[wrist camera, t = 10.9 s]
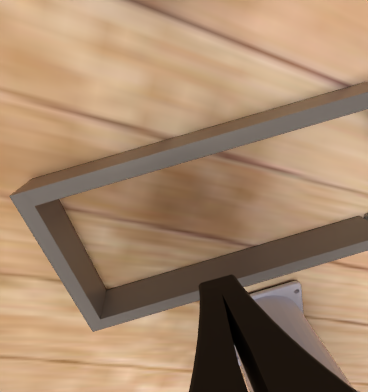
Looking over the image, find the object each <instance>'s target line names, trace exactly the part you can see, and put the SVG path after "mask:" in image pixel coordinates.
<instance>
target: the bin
mask: <svg viewBox="0 0 368 392" xmlns="http://www.w3.org/2000/svg"><path fill="white" fill-rule="evenodd" d="M366 109H368V82H364V83H361V84H357V85H354V86H350V87H347V88H343V89H340V90H336V91H333V92H330V93H326V94H323V95H319V96H316V97H312V98H309V99H305V100H302V101H299V102H295V103H292V104H288V105H285V106H281V107H278V108H275V109H271V110H268V111H264V112H261V113H257V114H254V115H250V116H247V117H244V118H240V119H237V120H233V121H230V122H226V123H223V124H219V125H216V126H213V127H209V128H206V129H202V130H199V131H195V132H192V133H188V134H185V135H182V136H178V137H175V138H171V139H168V140H164V141H161V142H157V143H154V144H151V145H147V146H144V147H140V148H137V149H133V150H130V151H126V152H123V153H120V154H116V155H113V156H109V157H106V158H102V159H99V160H95V161H92V162H89V163H85V164H82V165H78V166H75V167H71V168H68V169H64V170H61V171H58V172H54V173H51V174H47V175H44V176H40V177H37V178H33V179H31V180H30V181H28V182H27V183H26V184H24V185H23V186H22V187H21V188H19V189H18V190H17V191H15V192H14V193H13V194H11V195H10V198H11V200H12V201H13V203H14V205H15V206H16V208H17V209H18V211H19V213H20V214H21V216H22V218H23V219H24V221H25V223H26V224H27V226H28V227H29V229H30V231H31V232H32V234H33V236H34V237H35V239H36V240H37V242H38V244H39V245H40V247H41V249H42V250H43V252H44V253H45V255H46V257H47V258H48V260H49V262H50V263H51V265H52V266H53V268H54V270H55V271H56V273H57V275H58V276H59V278H60V279H61V281H62V283H63V284H64V286H65V288H66V289H67V291H68V292H69V294H70V296H71V297H72V299H73V301H74V302H75V304H76V305H77V307H78V309H79V310H80V312H81V314H82V315H83V317H84V318H85V320H86V322H87V323H88V325H89V327H90V328H91V330H92V331H93V332H94V331H97V330H101V329H104V328H107V327H111V326H114V325H118V324H121V323H124V322H128V321H131V320H134V319H138V318H141V317H145V316H148V315H151V314H155V313H158V312H162V311H165V310H168V309H172V308H175V307H178V306H182V305H185V304H189V303H192V302H195V301H199V300H200V295H199V287H198V286H199V284H200V283H202V282H206V281H209V280H213V279H216V278H220V277H223V276H227V275H231V274H232V275H234V276H235V277H236V278H237V280H238V281H239V282H240V284H241V285H242V286H243V287H246V286H249V285H253V284H256V283H260V282H263V281H266V280H270V279H273V278H276V277H280V276H283V275H287V274H290V273H293V272H297V271H300V270H303V269H307V268H310V267H314V266H317V265H320V264H324V263H327V262H331V261H334V260H337V259H341V258H344V257H347V256H351V255H354V254H358V253H361V252H364V251H368V221H367V220H365V219H364V218H362V217H360V216H357V217H354V218H350V219H347V220H344V221H340V222H337V223H334V224H330V225H327V226H323V227H320V228H317V229H313V230H310V231H306V232H303V233H300V234H296V235H293V236H289V237H286V238H283V239H279V240H276V241H272V242H269V243H266V244H262V245H259V246H255V247H252V248H249V249H245V250H242V251H238V252H235V253H232V254H228V255H225V256H222V257H218V258H215V259H211V260H208V261H205V262H201V263H198V264H194V265H191V266H188V267H184V268H181V269H177V270H174V271H171V272H167V273H164V274H160V275H157V276H154V277H150V278H147V279H143V280H140V281H137V282H133V283H130V284H126V285H123V286H120V287H116V288H113V289H110V290H106V289H105V287H104V285H103V283H102V281H101V279H100V277H99V275H98V273H97V271H96V270H95V268H94V266H93V264H92V262H91V260H90V258H89V256H88V254H87V252H86V250H85V249H84V247H83V245H82V243H81V241H80V239H79V237H78V235H77V233H76V231H75V230H74V228H73V226H72V224H71V222H70V220H69V218H68V216H67V214H66V212H65V211H64V209H63V207H62V205H61V203H60V201H59V199H61V198H64V197H67V196H71V195H74V194H78V193H81V192H85V191H88V190H91V189H95V188H98V187H102V186H105V185H109V184H112V183H115V182H119V181H122V180H126V179H129V178H133V177H136V176H140V175H143V174H146V173H150V172H153V171H157V170H160V169H164V168H167V167H170V166H174V165H177V164H181V163H184V162H188V161H191V160H194V159H198V158H201V157H205V156H208V155H212V154H215V153H218V152H222V151H225V150H229V149H232V148H236V147H239V146H243V145H246V144H249V143H253V142H256V141H260V140H263V139H267V138H270V137H273V136H277V135H280V134H284V133H287V132H291V131H294V130H297V129H301V128H304V127H308V126H311V125H315V124H318V123H321V122H325V121H328V120H332V119H335V118H339V117H342V116H345V115H349V114H352V113H356V112H359V111H363V110H366Z"/></svg>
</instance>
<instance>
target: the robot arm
mask: <svg viewBox="0 0 368 392" xmlns="http://www.w3.org/2000/svg"><path fill="white" fill-rule="evenodd" d="M198 287H199V295H200V315H199V328H198V339H197V347H196V354H195V361H194V368H193V373H192V379H191V384H190V389H189V392H248V391H247V388H246V385H245V382H244V379H243V376H242V373H241V370H240V367H239V366H242V369H243V373H244V376H245V379H246V382H247V385H248V388H249V391H250V392H360V391H356V390H355V389H353V387H352V386H351V384H350V383H349V381H348V380H347V378H346V377H345V375H344V374H343V373H342V371H341V370H340V368H339V367H338V365H337V364H336V362H335V361H334V359H333V358H332V356H331V355H330V353H329V352H328V350H327V349H326V347H325V346H324V344H323V343H322V341H321V340H320V339H319V337H318V336H317V334H316V333H315V331H314V330H313V328H312V327H311V325H310V324H309V322H308V321H307V319H306V318H305V316H304V314H303V302H302V290H301V284H300V283H299V282H298V281H292V282H289V283H286V284H282V285H279V286H275V287H272V288H269V289H265V290H262V291H259V292H255V293H252V294H248V293H247V291H246V290H245V289H244V288H243V286H242V285H241V284H240V282H239V281H238V280H237V278H236V277H235V276H234V275H232V274H231V275H227V276H223V277H220V278H216V279H213V280H209V281H206V282H202V283H200V284H199V286H198Z"/></svg>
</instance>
